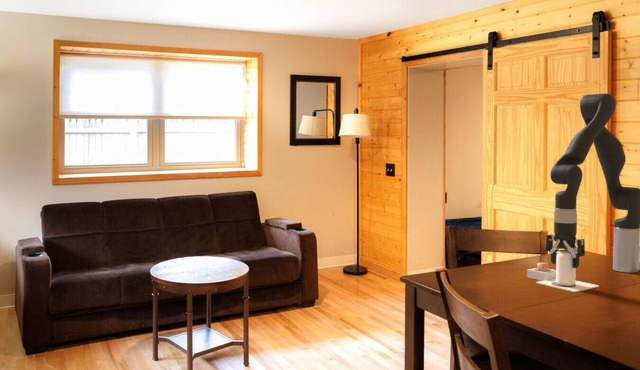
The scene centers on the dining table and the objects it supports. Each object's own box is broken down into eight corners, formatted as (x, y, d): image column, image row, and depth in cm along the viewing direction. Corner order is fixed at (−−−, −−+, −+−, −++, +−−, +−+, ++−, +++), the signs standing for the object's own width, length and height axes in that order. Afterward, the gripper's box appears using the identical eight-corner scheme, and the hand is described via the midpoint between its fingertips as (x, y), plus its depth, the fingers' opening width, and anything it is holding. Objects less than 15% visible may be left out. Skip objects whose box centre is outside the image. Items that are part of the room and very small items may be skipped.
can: (577, 286, 217) (577, 253, 216) (557, 286, 218) (558, 252, 217) (573, 282, 223) (573, 249, 222) (554, 281, 224) (555, 249, 223)
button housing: (540, 274, 238) (540, 266, 238) (558, 278, 231) (558, 270, 231) (526, 277, 234) (527, 269, 233) (544, 281, 227) (544, 273, 227)
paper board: (560, 278, 232) (560, 277, 232) (599, 286, 218) (599, 285, 218) (535, 283, 224) (535, 281, 224) (574, 292, 211) (574, 290, 211)
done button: (541, 272, 235) (541, 262, 235) (550, 274, 232) (550, 263, 231) (534, 273, 233) (535, 263, 233) (543, 275, 230) (544, 265, 229)
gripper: (590, 222, 214) (589, 267, 216) (554, 217, 226) (554, 261, 228) (576, 224, 210) (575, 270, 212) (541, 219, 222) (541, 263, 224)
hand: (564, 265), depth 220 cm, fingers open, 8 cm apart
